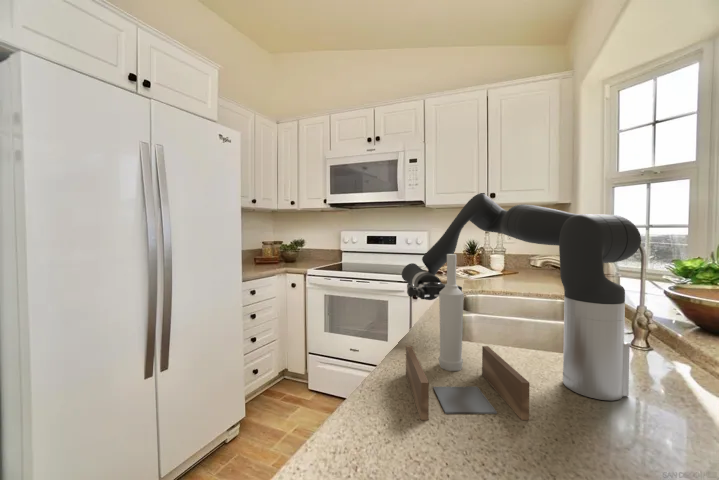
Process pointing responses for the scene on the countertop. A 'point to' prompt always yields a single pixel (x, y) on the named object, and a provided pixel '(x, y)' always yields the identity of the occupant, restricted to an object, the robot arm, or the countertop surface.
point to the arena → (471, 388)
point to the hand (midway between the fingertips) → (440, 295)
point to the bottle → (451, 320)
